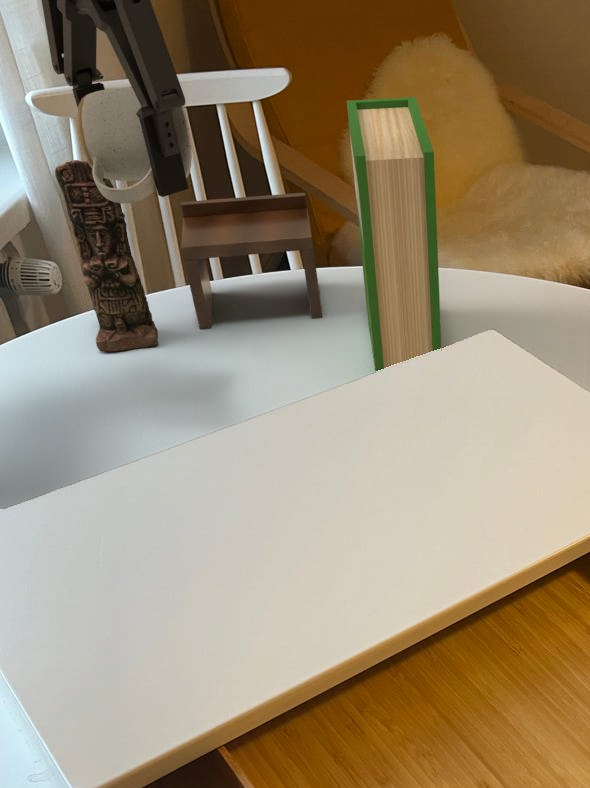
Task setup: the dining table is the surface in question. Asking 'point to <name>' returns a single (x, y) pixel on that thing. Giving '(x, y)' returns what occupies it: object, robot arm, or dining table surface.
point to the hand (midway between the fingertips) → (140, 177)
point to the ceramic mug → (122, 142)
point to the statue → (106, 261)
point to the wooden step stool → (245, 240)
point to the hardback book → (396, 227)
